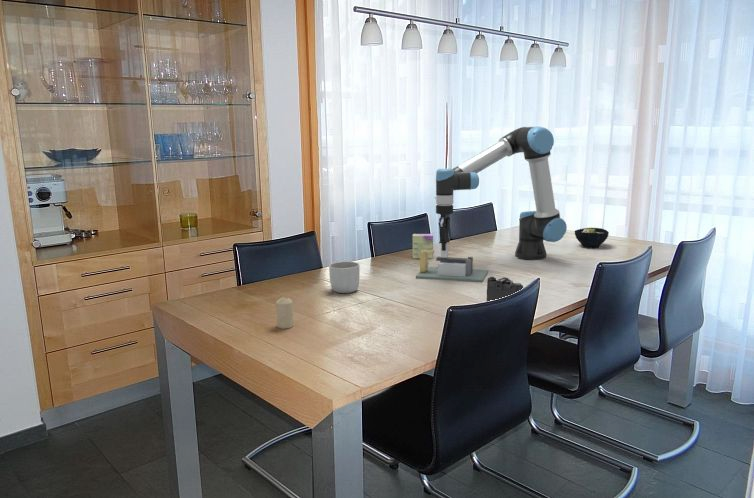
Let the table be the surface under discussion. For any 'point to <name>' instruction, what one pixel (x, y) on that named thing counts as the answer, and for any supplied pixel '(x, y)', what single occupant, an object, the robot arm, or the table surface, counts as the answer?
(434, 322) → the table surface
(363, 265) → the table surface
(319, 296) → the table surface
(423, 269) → the notched wooden block
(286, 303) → the candle
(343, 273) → the planter
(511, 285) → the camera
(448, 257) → the strap
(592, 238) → the bowl
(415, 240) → the box
